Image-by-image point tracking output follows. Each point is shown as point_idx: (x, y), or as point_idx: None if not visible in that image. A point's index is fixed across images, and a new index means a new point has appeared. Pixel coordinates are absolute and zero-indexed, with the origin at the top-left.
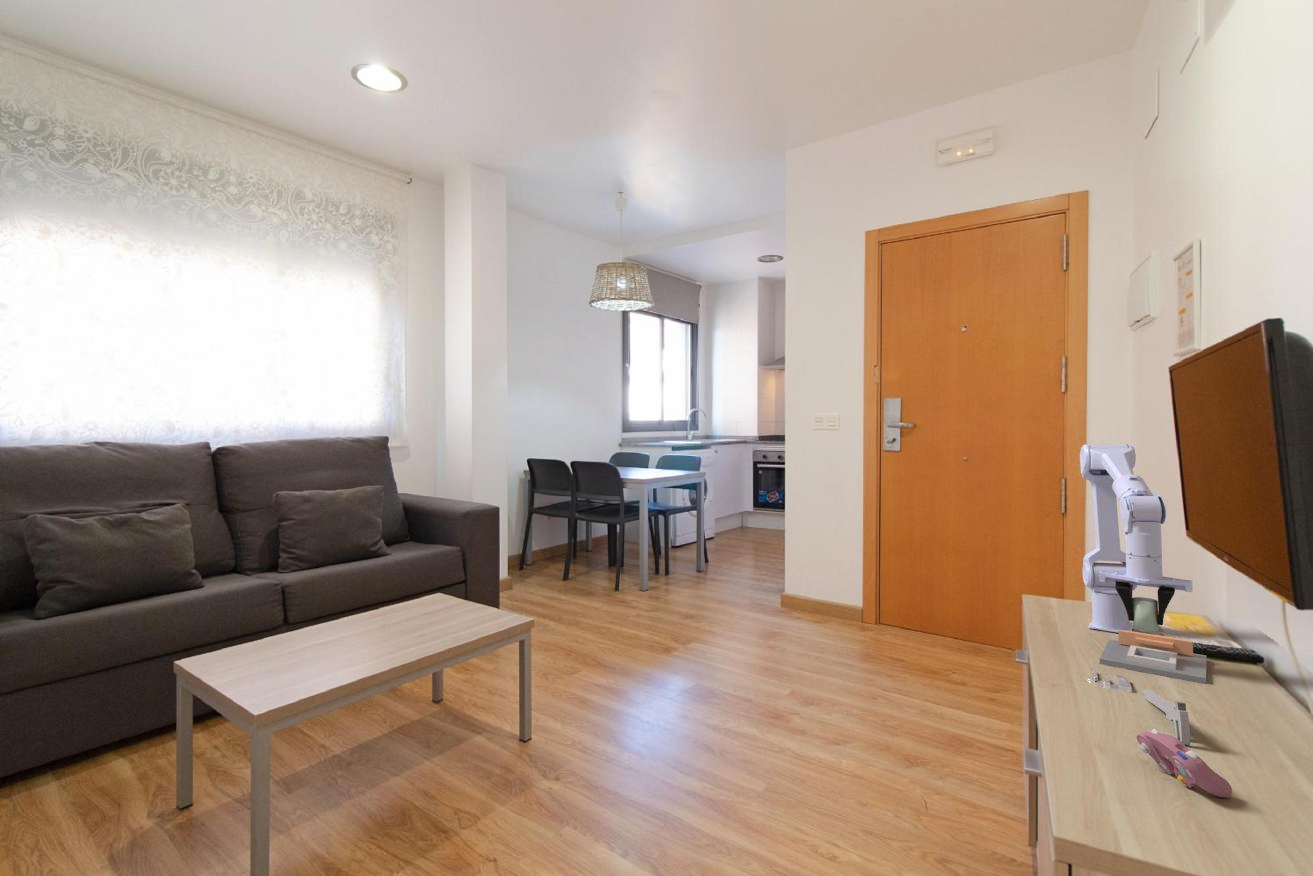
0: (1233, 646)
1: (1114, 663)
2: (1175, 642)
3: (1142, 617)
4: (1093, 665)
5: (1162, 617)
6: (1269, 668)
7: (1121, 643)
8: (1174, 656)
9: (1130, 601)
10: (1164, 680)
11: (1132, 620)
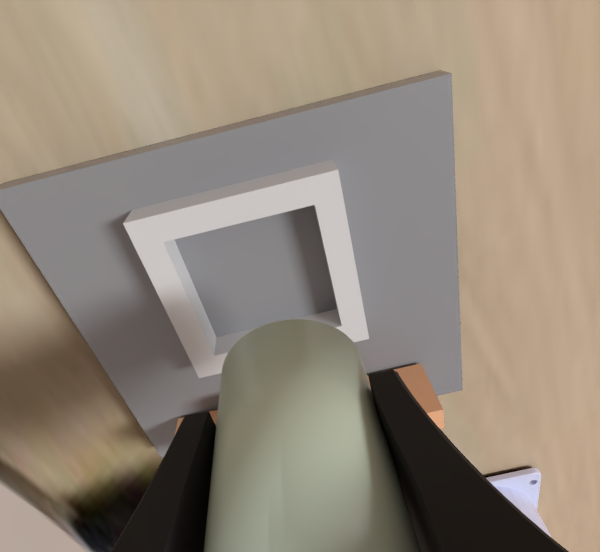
0: None
1: (375, 89)
2: None
3: (296, 405)
4: (462, 8)
5: (158, 471)
6: (28, 496)
7: (412, 367)
8: (182, 327)
9: (438, 538)
10: (127, 67)
11: (371, 378)
